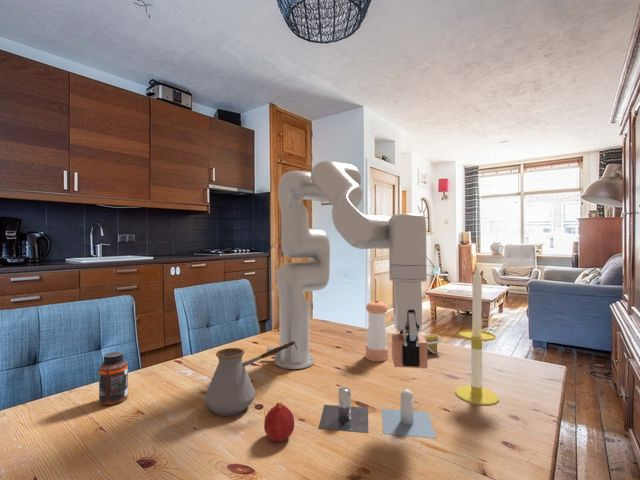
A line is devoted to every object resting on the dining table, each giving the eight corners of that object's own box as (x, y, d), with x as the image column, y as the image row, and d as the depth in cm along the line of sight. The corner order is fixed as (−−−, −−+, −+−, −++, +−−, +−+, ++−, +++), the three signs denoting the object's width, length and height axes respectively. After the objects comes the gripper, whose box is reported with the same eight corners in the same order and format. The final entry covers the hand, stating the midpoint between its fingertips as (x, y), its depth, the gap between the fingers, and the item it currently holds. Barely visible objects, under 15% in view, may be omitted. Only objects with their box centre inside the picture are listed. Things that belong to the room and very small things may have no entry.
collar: (394, 367, 68) (394, 341, 68) (391, 356, 74) (391, 333, 74) (427, 368, 67) (427, 342, 67) (422, 357, 73) (421, 334, 73)
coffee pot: (198, 421, 73) (198, 351, 73) (210, 396, 84) (210, 336, 84) (298, 416, 75) (298, 349, 75) (296, 393, 86) (296, 334, 86)
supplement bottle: (133, 397, 84) (133, 351, 84) (111, 408, 79) (111, 359, 78) (115, 393, 86) (115, 348, 86) (93, 404, 81) (93, 356, 80)
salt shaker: (391, 356, 113) (391, 299, 113) (382, 363, 107) (383, 302, 107) (371, 352, 117) (371, 297, 117) (361, 358, 111) (362, 300, 111)
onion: (265, 434, 68) (265, 394, 68) (294, 433, 69) (294, 393, 69) (262, 453, 62) (262, 409, 62) (294, 451, 63) (294, 408, 63)
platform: (462, 358, 113) (462, 338, 113) (416, 364, 108) (416, 343, 108) (439, 347, 125) (439, 329, 125) (396, 352, 119) (396, 333, 119)
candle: (470, 406, 80) (470, 268, 79) (447, 388, 89) (448, 264, 89) (508, 403, 81) (509, 267, 81) (482, 385, 91) (482, 264, 91)
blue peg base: (383, 438, 67) (383, 399, 67) (381, 413, 77) (381, 378, 77) (436, 443, 65) (436, 402, 65) (427, 416, 75) (427, 381, 75)
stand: (318, 433, 69) (318, 399, 68) (324, 409, 78) (324, 378, 78) (368, 437, 67) (368, 402, 67) (368, 412, 77) (368, 381, 77)
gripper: (386, 269, 80) (387, 346, 80) (392, 277, 63) (393, 375, 63) (419, 270, 79) (420, 347, 79) (434, 277, 62) (435, 376, 62)
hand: (408, 358), depth 71 cm, fingers closed on collar, 6 cm apart
